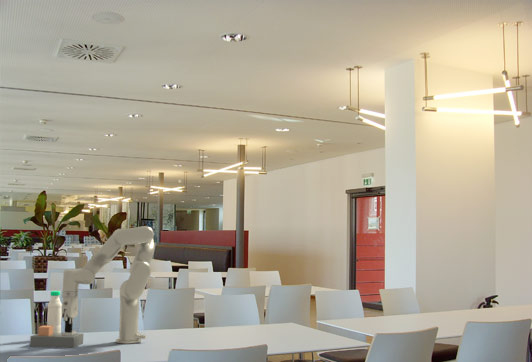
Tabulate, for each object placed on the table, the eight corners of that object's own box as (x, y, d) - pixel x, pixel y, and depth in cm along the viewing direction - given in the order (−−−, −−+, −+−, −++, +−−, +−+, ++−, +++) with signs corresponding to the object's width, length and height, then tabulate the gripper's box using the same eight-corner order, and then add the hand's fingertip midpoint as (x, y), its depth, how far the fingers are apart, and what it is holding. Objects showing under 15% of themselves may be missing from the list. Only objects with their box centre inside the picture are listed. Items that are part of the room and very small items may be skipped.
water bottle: (56, 340, 316) (57, 291, 318) (43, 340, 318) (45, 291, 320) (63, 338, 323) (64, 290, 325) (51, 338, 324) (52, 290, 327)
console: (83, 343, 309) (83, 333, 309) (73, 347, 297) (73, 337, 297) (41, 342, 311) (41, 332, 311) (30, 346, 299) (30, 336, 299)
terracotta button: (52, 335, 307) (53, 325, 307) (48, 337, 302) (48, 327, 302) (43, 335, 307) (43, 325, 308) (38, 337, 302) (38, 327, 303)
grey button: (75, 341, 306) (76, 331, 306) (71, 343, 300) (72, 332, 301) (65, 341, 306) (66, 330, 306) (61, 342, 301) (61, 332, 301)
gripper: (71, 296, 298) (69, 334, 296) (83, 293, 312) (81, 329, 311) (56, 295, 298) (54, 333, 296) (69, 293, 313) (67, 329, 311)
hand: (68, 331), depth 304 cm, fingers closed
